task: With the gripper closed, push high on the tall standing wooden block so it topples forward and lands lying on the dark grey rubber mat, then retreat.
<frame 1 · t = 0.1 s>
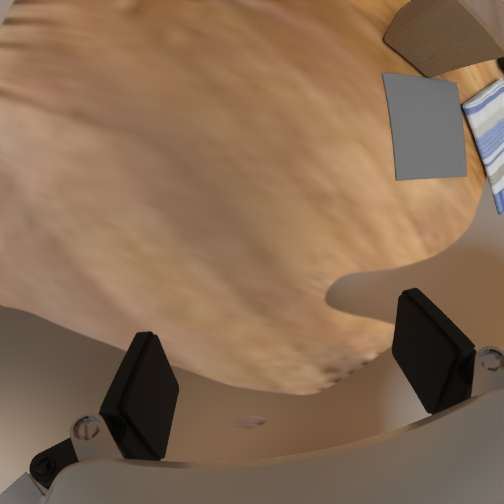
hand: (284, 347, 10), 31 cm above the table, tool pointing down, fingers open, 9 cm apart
mat: (430, 126, 36), on the table
dish towel: (499, 143, 36), on the table, touching mat
wooden block: (413, 42, 30), on the table, touching mat
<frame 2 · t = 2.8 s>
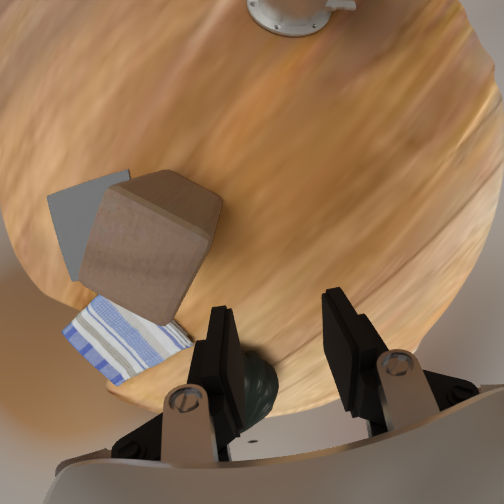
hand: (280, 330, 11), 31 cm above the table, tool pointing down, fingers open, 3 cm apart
squash: (236, 365, 51), on the table
mat: (95, 230, 41), on the table
dish towel: (122, 333, 48), on the table, touching mat
wooden block: (179, 212, 41), on the table, touching mat
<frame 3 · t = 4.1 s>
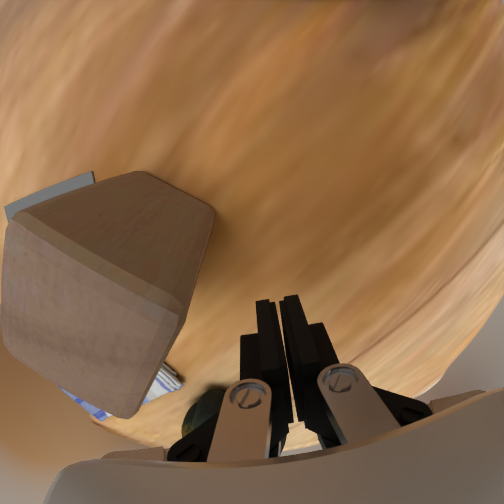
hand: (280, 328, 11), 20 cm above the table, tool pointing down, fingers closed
squash: (236, 405, 41), on the table
mat: (58, 249, 30), on the table
dish towel: (101, 368, 38), on the table, touching mat
wooden block: (158, 227, 30), on the table, touching mat
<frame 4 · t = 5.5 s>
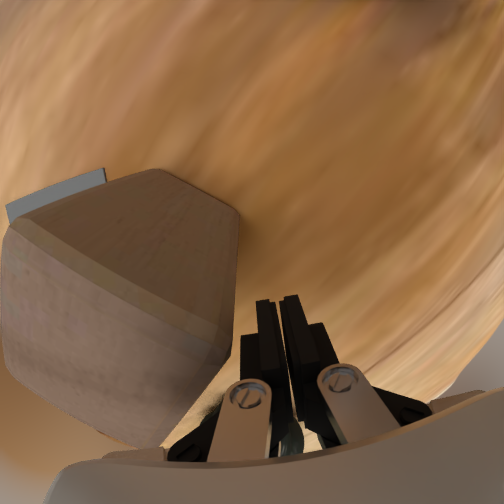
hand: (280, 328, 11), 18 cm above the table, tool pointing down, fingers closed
squash: (250, 414, 39), on the table
mat: (63, 251, 29), on the table
wooden block: (176, 230, 28), on the table, touching gripper, mat
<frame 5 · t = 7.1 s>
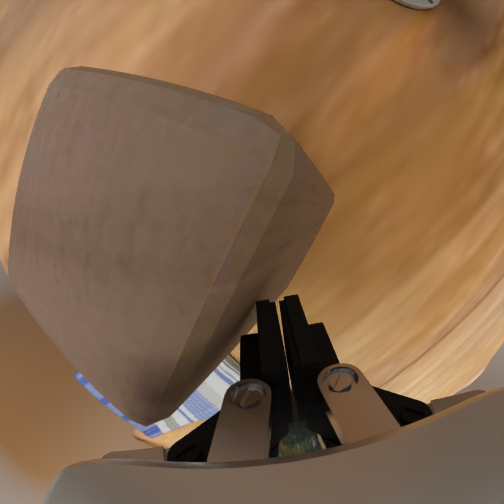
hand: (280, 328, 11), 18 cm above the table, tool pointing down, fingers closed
squash: (309, 409, 38), on the table
dish towel: (161, 380, 35), on the table, touching mat
wooden block: (263, 216, 26), point 2 cm above the table, touching mat
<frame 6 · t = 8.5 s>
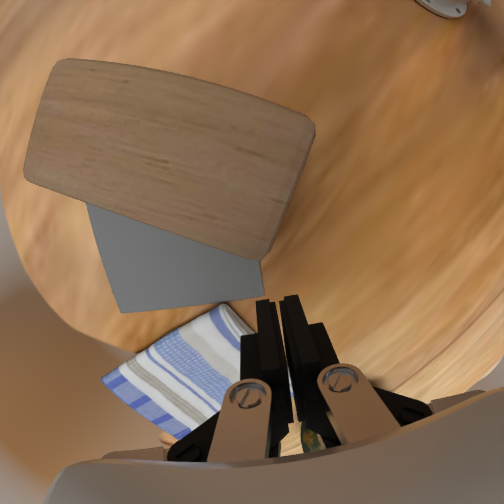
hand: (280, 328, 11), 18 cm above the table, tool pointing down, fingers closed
squash: (343, 403, 38), on the table
mat: (169, 236, 28), on the table
dish towel: (197, 381, 35), on the table, touching mat
wooden block: (286, 188, 21), point 5 cm above the table, touching mat
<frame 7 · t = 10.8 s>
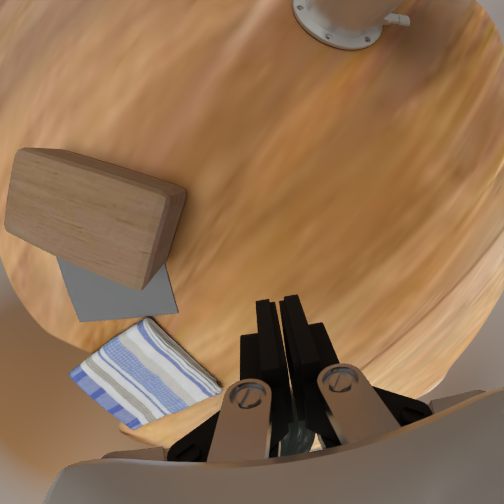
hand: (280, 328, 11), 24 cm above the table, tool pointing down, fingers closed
squash: (266, 407, 45), on the table
mat: (107, 266, 35), on the table
dish towel: (139, 378, 42), on the table, touching mat
wooden block: (169, 237, 29), point 5 cm above the table, touching mat
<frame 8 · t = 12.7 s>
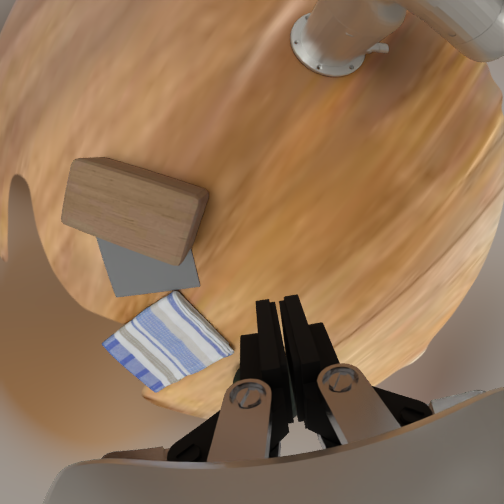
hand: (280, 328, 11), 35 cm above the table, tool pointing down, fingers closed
mat: (143, 250, 47), on the table
dish towel: (165, 344, 54), on the table, touching mat
wooden block: (197, 227, 40), point 5 cm above the table, touching mat
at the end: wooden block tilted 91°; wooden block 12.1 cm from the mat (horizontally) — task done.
